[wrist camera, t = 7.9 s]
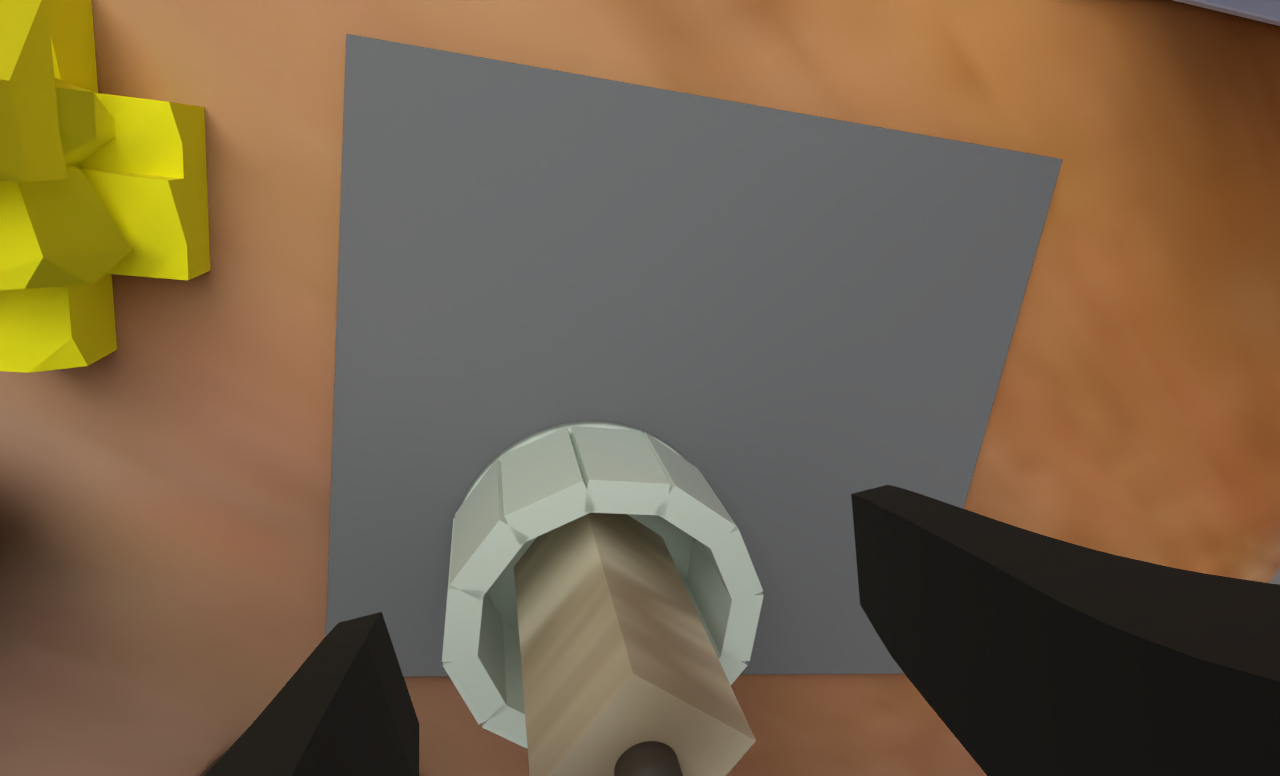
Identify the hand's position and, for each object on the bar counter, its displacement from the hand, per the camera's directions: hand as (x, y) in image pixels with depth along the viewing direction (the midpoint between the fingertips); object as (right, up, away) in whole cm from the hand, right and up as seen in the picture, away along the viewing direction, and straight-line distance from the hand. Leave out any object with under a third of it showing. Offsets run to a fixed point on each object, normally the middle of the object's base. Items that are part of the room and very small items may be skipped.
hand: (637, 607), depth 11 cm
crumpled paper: (-13, +8, +6) cm, 17 cm away
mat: (+1, +3, +11) cm, 11 cm away
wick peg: (-1, -1, +10) cm, 10 cm away
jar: (-1, -1, +11) cm, 11 cm away
